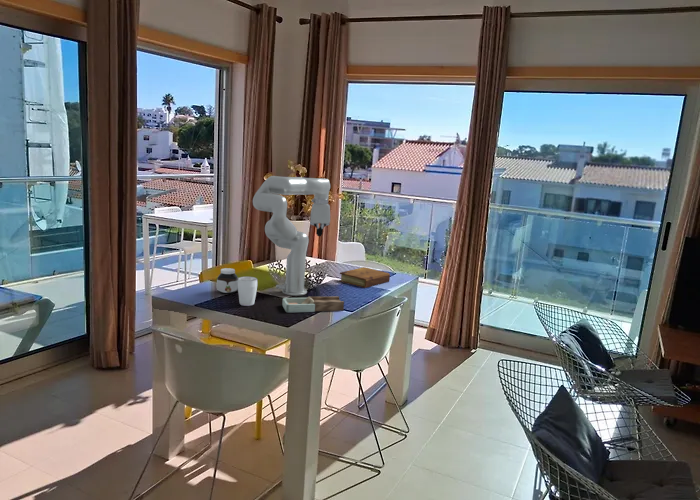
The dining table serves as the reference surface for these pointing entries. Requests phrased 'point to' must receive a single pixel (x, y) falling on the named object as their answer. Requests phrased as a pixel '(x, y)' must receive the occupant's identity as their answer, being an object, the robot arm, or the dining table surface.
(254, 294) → the cup
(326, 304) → the bench plate
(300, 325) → the dining table surface
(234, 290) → the spread jar
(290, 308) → the box
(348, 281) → the diary
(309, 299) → the maple tile
